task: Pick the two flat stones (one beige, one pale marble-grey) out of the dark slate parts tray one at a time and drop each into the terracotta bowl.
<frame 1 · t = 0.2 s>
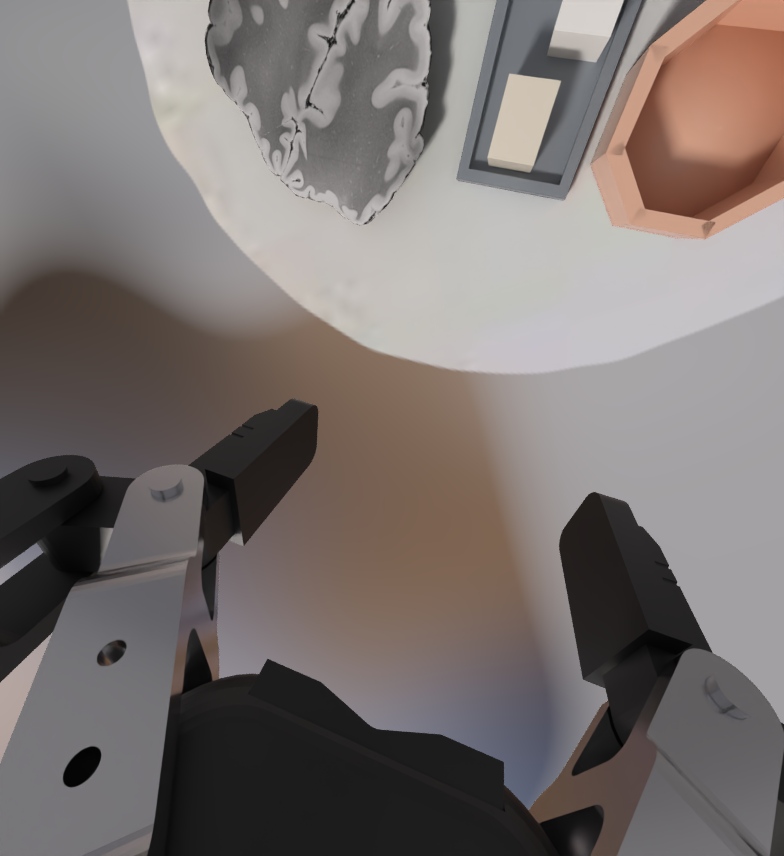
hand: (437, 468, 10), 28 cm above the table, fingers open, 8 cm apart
bowl: (693, 136, 23), on the table
stone b: (586, 11, 22), resting on tray
brain slice: (338, 83, 28), on the table
stone a: (519, 134, 26), resting on tray
tray: (544, 74, 24), on the table
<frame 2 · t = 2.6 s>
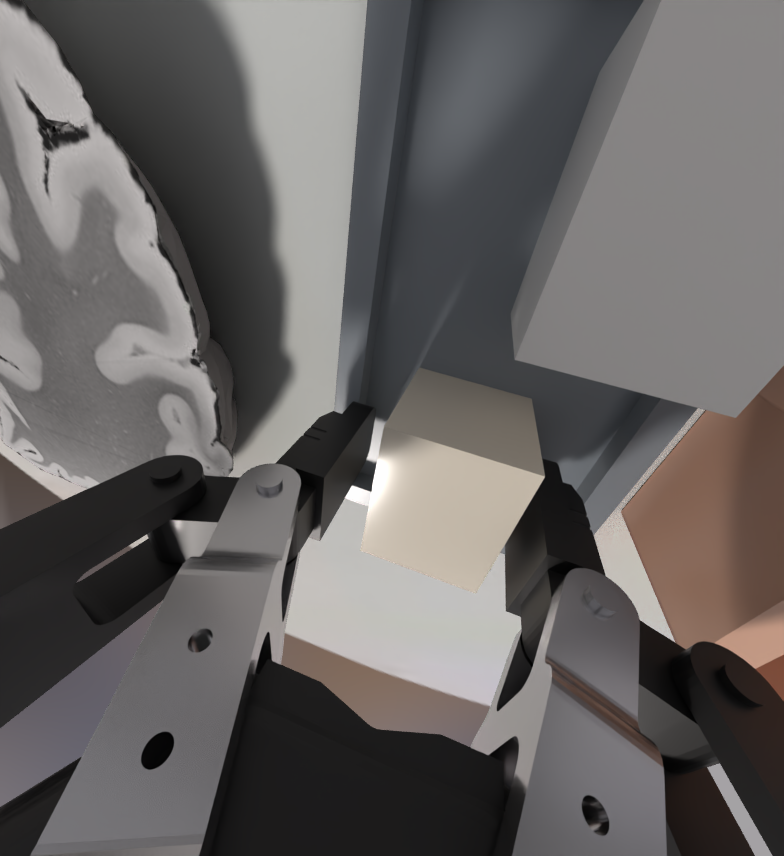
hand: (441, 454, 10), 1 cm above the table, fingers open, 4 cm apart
stone b: (627, 229, 7), resting on tray
brain slice: (79, 280, 13), on the table
stone a: (453, 441, 11), resting on tray
tray: (506, 341, 9), on the table
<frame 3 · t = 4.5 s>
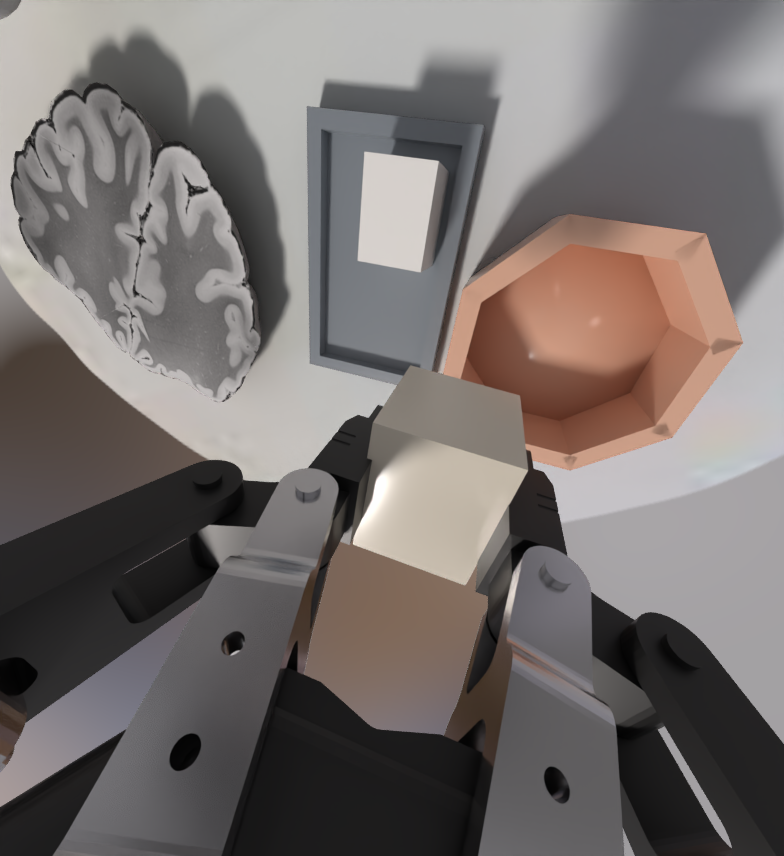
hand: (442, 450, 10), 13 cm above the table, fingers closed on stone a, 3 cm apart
bowl: (556, 339, 20), on the table
stone b: (411, 217, 18), resting on tray
brain slice: (176, 259, 25), on the table
stone a: (445, 437, 11), point 12 cm above the table, touching gripper
tray: (382, 270, 21), on the table
when the fingers open (5 cm above the table, at t = 6.0 s): stone a drops 4 cm, resting on bowl.
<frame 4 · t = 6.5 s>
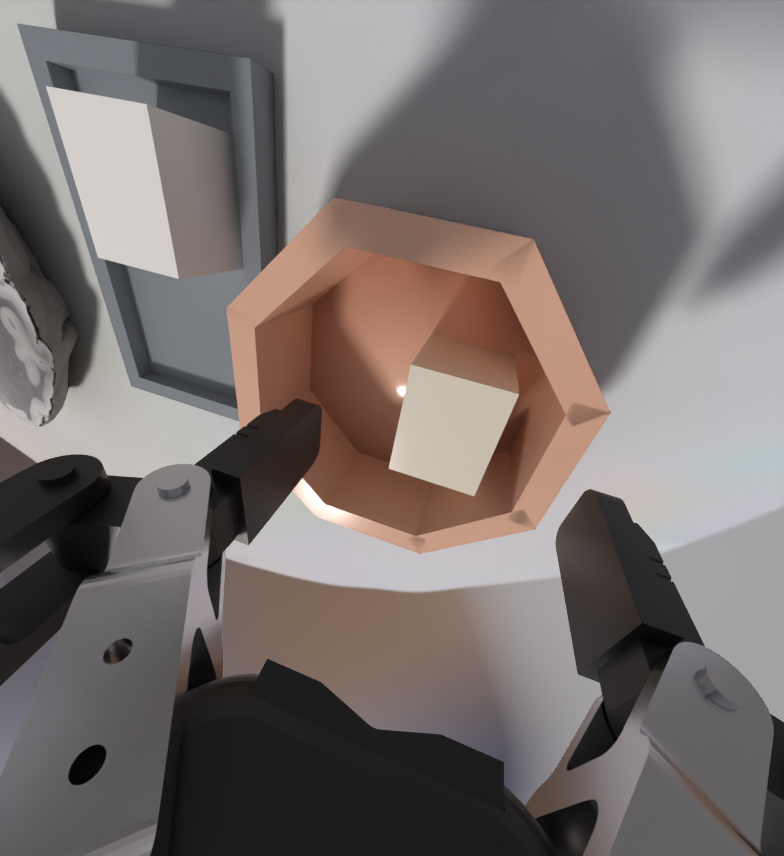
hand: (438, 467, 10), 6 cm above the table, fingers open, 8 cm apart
bowl: (416, 374, 15), on the table
stone b: (204, 200, 13), resting on tray
stone a: (456, 392, 14), point 1 cm above the table, touching bowl
tray: (193, 270, 15), on the table
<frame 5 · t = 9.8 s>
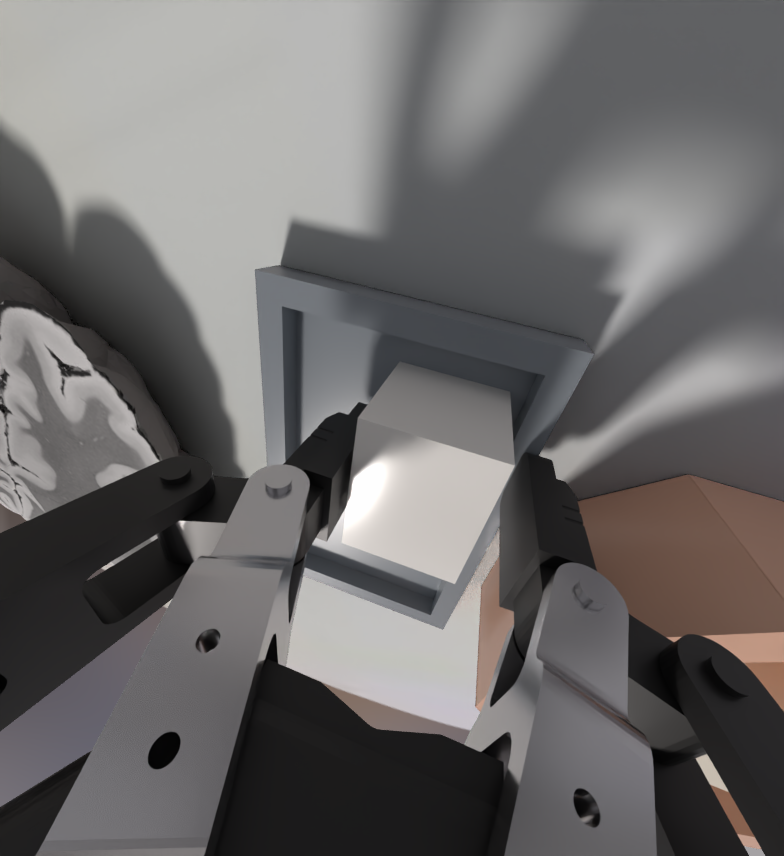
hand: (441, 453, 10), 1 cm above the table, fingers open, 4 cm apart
bowl: (652, 605, 13), on the table
stone b: (435, 434, 11), resting on tray
brain slice: (82, 401, 17), on the table
stone a: (713, 641, 12), point 1 cm above the table, touching bowl
tray: (383, 478, 13), on the table
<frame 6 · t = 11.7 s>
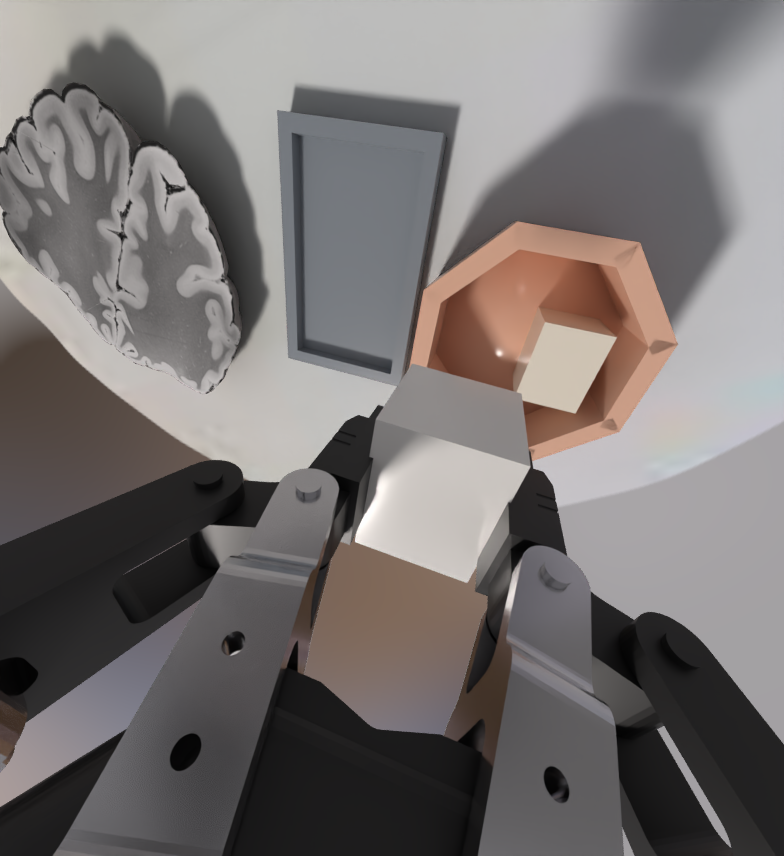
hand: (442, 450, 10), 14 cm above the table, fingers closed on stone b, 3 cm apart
bowl: (520, 337, 21), on the table
stone b: (446, 435, 11), point 13 cm above the table, touching gripper
brain slice: (159, 254, 25), on the table
stone a: (552, 348, 20), point 1 cm above the table, touching bowl
tray: (355, 268, 21), on the table
when the fingers open (5 cm above the table, at t = 13.0 s): stone b drops 4 cm, resting on bowl.
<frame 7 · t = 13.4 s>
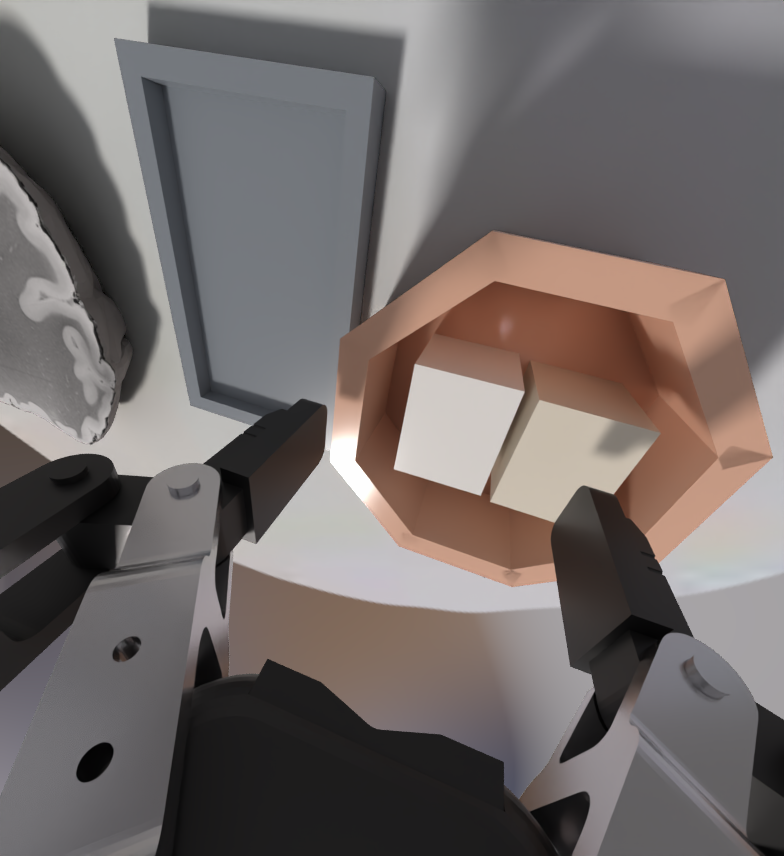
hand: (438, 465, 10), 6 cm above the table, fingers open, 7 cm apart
bowl: (503, 398, 14), on the table
stone b: (461, 392, 14), point 1 cm above the table, touching bowl
brain slice: (19, 258, 19), on the table
stone a: (550, 419, 14), point 1 cm above the table, touching bowl
tray: (268, 290, 15), on the table
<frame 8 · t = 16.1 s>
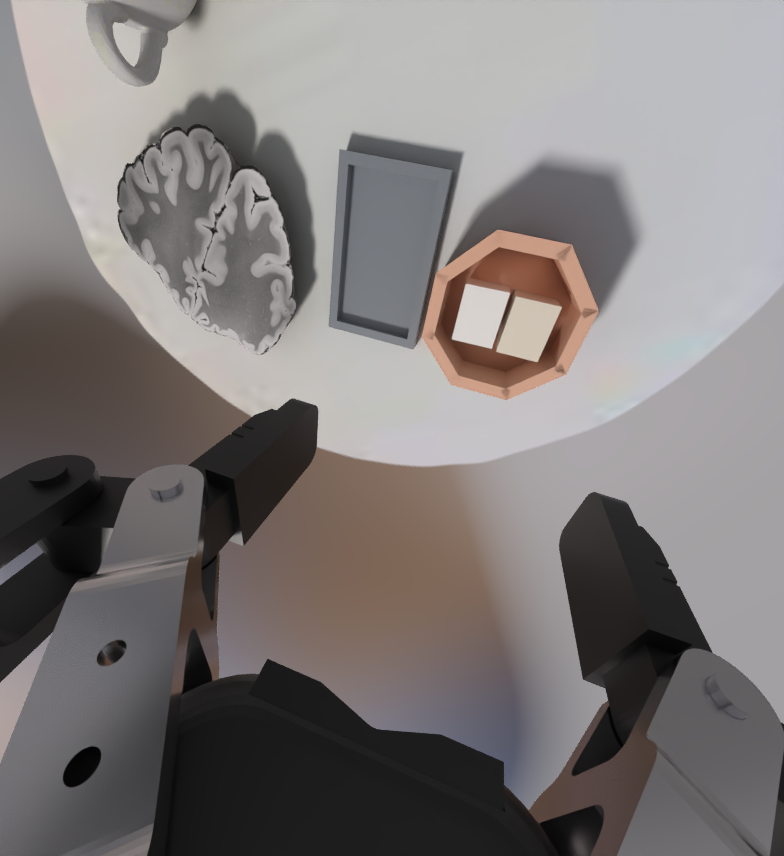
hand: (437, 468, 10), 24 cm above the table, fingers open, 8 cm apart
bowl: (502, 312, 29), on the table
stone b: (481, 308, 29), point 1 cm above the table, touching bowl
brain slice: (232, 245, 33), on the table
stone a: (524, 320, 28), point 1 cm above the table, touching bowl
tray: (384, 259, 30), on the table
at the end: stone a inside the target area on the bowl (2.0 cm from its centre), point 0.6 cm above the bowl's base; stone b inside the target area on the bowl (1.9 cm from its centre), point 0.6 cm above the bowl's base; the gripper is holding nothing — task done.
